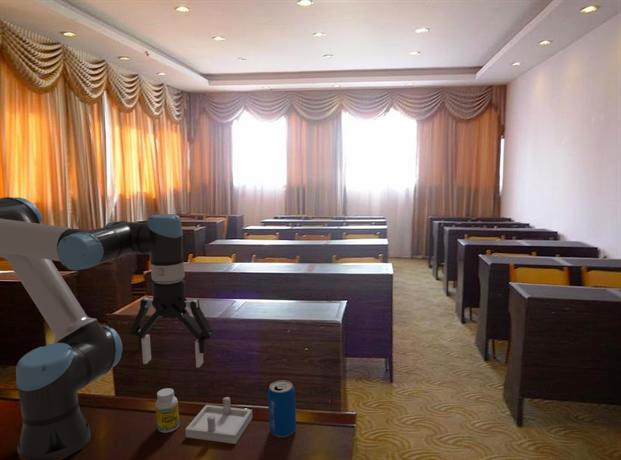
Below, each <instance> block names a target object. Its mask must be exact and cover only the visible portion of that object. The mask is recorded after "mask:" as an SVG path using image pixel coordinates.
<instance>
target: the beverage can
mask: <svg viewBox="0 0 621 460" xmlns="http://www.w3.org/2000/svg"><path fill="white" fill-rule="evenodd" d="M295 392H296V389H295V387H294V386H293V382H291V381H289V380H284V379H282V380H281V379H280V380H279V379H278V380H275V381H273V382H272V383H270V385H269V388H268V390H267V402H268V404H267V405H268V422H269V423H268V424H269V425H268V426H269V431H270V433H271V434H272V435H273V436H275V437H277V438H286V437H289V436H291V435H292V434H294V433H295V431H296V429H297V419H296V418H297V416H296V413H297V412H296V393H295Z"/></svg>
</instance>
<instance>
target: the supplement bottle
mask: <svg viewBox="0 0 621 460" xmlns="http://www.w3.org/2000/svg"><path fill="white" fill-rule="evenodd" d="M156 398H157V400H156V402H155V406H154V407H155V415H156V423H157V424H156V425H157V430H158V431H159V432H161V433H163V434H166V433H168V434H169V433H171V432H172V433H173V432H175V430H177V429H178V428H179V426H180V425H181V424H180V423H181V422H180V413H179V404H178V403H179V402H178V398H177V397H176V396H175V391H174V389H173V388H170V387H169V388H168V387H167V388H162V389H160V390H158V391H157V392H156Z"/></svg>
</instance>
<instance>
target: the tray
mask: <svg viewBox="0 0 621 460" xmlns="http://www.w3.org/2000/svg"><path fill="white" fill-rule="evenodd" d="M222 404H223V405H222V406H219V405H213V404H205V405H204V407H203V408H202V409H201V410H200V412H198V414H196V416H195V417H194V418H193V420H192V421H191V422H190V423H189V424H188V426H186V428H185V438H189V439H197V440H203V441H210V442H211V441H213V442H220V443H227V444H232V445H233V444H234V445H236V444H237V443H238V441H239V440H240V439H241V437H242V435H243V434H244V432H245V430H246V429H247V427H248V426H249V424H250V423H251V421H252V419H253V409H248V408H247V409H245V408H239V407H231V397H229V396H226V397H224V398H222Z"/></svg>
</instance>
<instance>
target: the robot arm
mask: <svg viewBox="0 0 621 460" xmlns="http://www.w3.org/2000/svg"><path fill="white" fill-rule="evenodd" d="M42 220H43V217H42V214H41V212H40V210H39V208H38V207H37V206H36V205H35V203H33V202H32V201H30V200H28V199H26V198H23V197H17V196H16V197H10V196H6V197H5V196H4V197H0V258H4V259H6V261H7V262H8V264H9V265H10V267H11V268H12V270H13V271H14V274H16V276H17V278H18V279H19V281H20V282H21V284H22V285H23V287H24V289H25V290H26V292H27V293H28V295H29V297H30V298H31V300H32V301H33V303H34V304H35V306H36V308H37V309H38V312H40V314H41V316H42V317H43V318H44V320H45V322H46V323H47V325H48V326H49V328H50V329H51V331H52V333H53V335H54V338H53V339H54V340H53V342H52V343H49V344H46V345H45V346H39V347H37V348H34V349H32V350H30V351H29V352H27V353H26V354H24V355H23V356H22V357H20V359H19V360H18V362H17V363H16V366H15V374H16V375H15V376H16V378H15V383H16V387H17V392H18V397H19V398H18V399H19V404H20V412H21V418H22V427H21V432H20V437H19V439H20V440H19V441H18V444H17V454H19V456H20V457H21V458H23V459H26V460H54V459H59V458H62V457H65V456H68V455H70V454H73V453H75V452H77V451H79V450H80V449H81V450H83V449H84V448H85V447H86V446H87V445H88V443H89V441H90V439H91V435H92V434H91V428H90V425H89V423H88V421H87V420H86V417H85V415H84V413H83V412H82V410H81V408H80V404H79V396H78V392H79V391H80V390H82V389H83V388H85V387H87V386H88V385H90V384H91V383H93V382H94V381H96V380H97V379H99V378H101V377H102V376H104V375H106V374H107V373H109V372H110V371H111V369H113V368H114V367H116V366H117V365H118V364H119V362H120V360H121V358H122V353H123V343H122V340H121V337H120V335H119V333H118V332H117V331H116V330H115V329H114V328H111V327H110V326H108V325H101V323H100V322H99V321H98V319H97V318H94V317H93V318H92V317H89V316H88V315H87V314H86V312H85V310H84V309H83V307H82V306H81V304H80V302H79V301H78V299H77V298H76V295H74V293H73V292H72V290H71V288H70V286H68V284H67V283H66V280H64V278H63V276H62V274H61V273H60V272H59V270H58V268H57V267H56V266H55V264H54V262H53V261H57V262H60V263H61V265H63V266H64V267H66V269H68V270H70V271H80V270H83V269H84V270H87V269H91V268H94V267H95V266H98V265H101V264H104V263H107V262H109V261H113V260H115V259H119V258H122V257H125V256H128V255H133V254H136V255H137V254H138V255H149V261H150V274H151V276H150V277H151V280H152V282H151V292H152V297H153V298H151V297H150V296H146V297H143V298H142V299H141V300H140V303H139V304H140V305H139V306H140V307H139V310H138V313H137V314H136V317H135V319H134V321H133V324H132V326H131V329H130V331H129V334H130V335H131V336H136V338H137V341H138V349H139V350H140V351H142V364H143V365H147V364H148V363H149V362H150V361H151V360H152V349H151V336H150V334H148V332H149V331H150V329H151V328H152V327H153V326H154V324H155V323H156V322H157V321H158V320H159V318H160V317H162V319H167V318H168V319H171V320H172V319H176V318H177V319H178V321H180V322H182V323H183V324H184V326H185V327H186V328H187V329H188V330H189V332H190V333H191V334H192V335H193V336H194V337H195V339H196V340H195V341H194V347H195V348H194V349H195V353H194V354H195V368H200V367H201V366H202V365H203V363H204V353H205V352H207V340H209V339H211V338H212V336H213V335H214V331H213V329H212V328H211V325H210V324H209V322H208V320H207V318H206V317H205V314H204V313H203V311H202V309H201V306H200V300H199V299H198V298H194V299H193V300H187V298H186V280H185V279H184V278H185V276H186V274H185V262H184V260H185V259H184V258H185V257H184V247H183V246H184V243H183V242H184V240H183V238H184V237H183V236H184V232H183V227H182V226H183V225H182V218H181V217H180V215H177V214H175V213H174V214H171V213H166V214H165V213H164V214H163V213H161V214H160V213H159V214H153V215H152V214H151V215H150V216H149V217H148V218H147V222H137V221H136V222H135V221H133V222H132V221H125V220H121V221H110V222H108V223H106V225H105V226H103V227H99V228H95V229H81V228H74V227H66V226H59V225H53V224H52V225H50V224H44V223H43V222H42ZM150 307H153V309H155V312H153V314H152V315H151V316H150V318H149V319H148V320H147V322H146V323H145V324H144V326H143V323H144V320H145V318H146V316H147V313H148V311H149V309H150ZM187 307H188V309H189V310H190V312H191V314H192V316H193V317H192V316H191V315H190V313H189V311H188V310H187V309H186V308H187ZM193 318H194V319H193ZM142 326H143V327H142ZM141 327H142V328H141ZM81 450H80V451H81ZM80 451H79V452H80ZM77 453H78V452H77Z"/></svg>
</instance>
